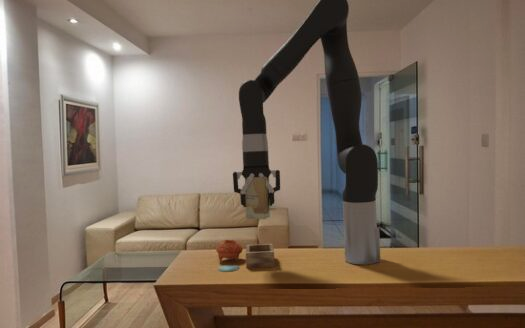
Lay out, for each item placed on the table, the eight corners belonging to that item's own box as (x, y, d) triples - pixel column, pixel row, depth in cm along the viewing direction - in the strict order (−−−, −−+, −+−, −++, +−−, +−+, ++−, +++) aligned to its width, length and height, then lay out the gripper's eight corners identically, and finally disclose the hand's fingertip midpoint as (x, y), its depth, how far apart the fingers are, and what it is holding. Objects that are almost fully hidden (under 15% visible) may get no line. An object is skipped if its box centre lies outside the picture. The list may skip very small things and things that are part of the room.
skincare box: (245, 219, 112) (243, 177, 112) (251, 216, 116) (249, 176, 116) (265, 219, 109) (263, 176, 109) (271, 217, 114) (269, 175, 113)
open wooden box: (273, 257, 118) (272, 243, 118) (274, 266, 108) (273, 251, 108) (247, 258, 118) (246, 244, 118) (246, 268, 108) (245, 253, 108)
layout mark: (239, 264, 111) (239, 264, 111) (238, 271, 105) (238, 270, 105) (219, 265, 111) (219, 265, 111) (216, 272, 105) (216, 271, 105)
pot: (217, 256, 121) (221, 235, 121) (241, 261, 121) (245, 240, 121) (211, 262, 114) (216, 240, 113) (237, 268, 113) (241, 245, 113)
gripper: (229, 151, 108) (232, 209, 109) (280, 148, 109) (283, 206, 109) (231, 151, 116) (234, 205, 116) (279, 149, 116) (281, 203, 116)
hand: (257, 206), depth 113 cm, fingers closed on skincare box, 7 cm apart
